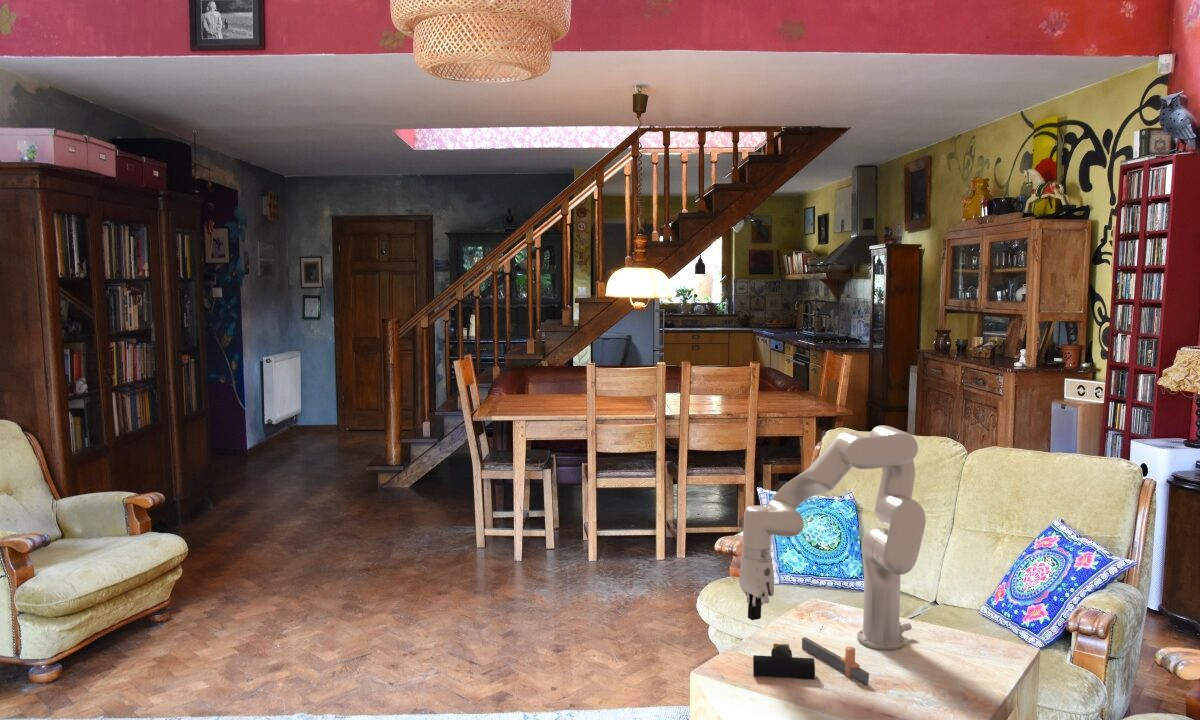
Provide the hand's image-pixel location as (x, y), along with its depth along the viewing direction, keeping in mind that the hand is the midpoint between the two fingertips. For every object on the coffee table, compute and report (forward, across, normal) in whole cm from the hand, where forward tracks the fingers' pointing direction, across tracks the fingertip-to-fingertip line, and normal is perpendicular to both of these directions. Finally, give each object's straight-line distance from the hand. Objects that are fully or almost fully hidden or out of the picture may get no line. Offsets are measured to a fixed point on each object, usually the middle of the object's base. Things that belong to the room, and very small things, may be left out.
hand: (754, 618), depth 231 cm
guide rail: (+8, -17, -13) cm, 23 cm away
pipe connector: (+9, -13, 0) cm, 16 cm away
